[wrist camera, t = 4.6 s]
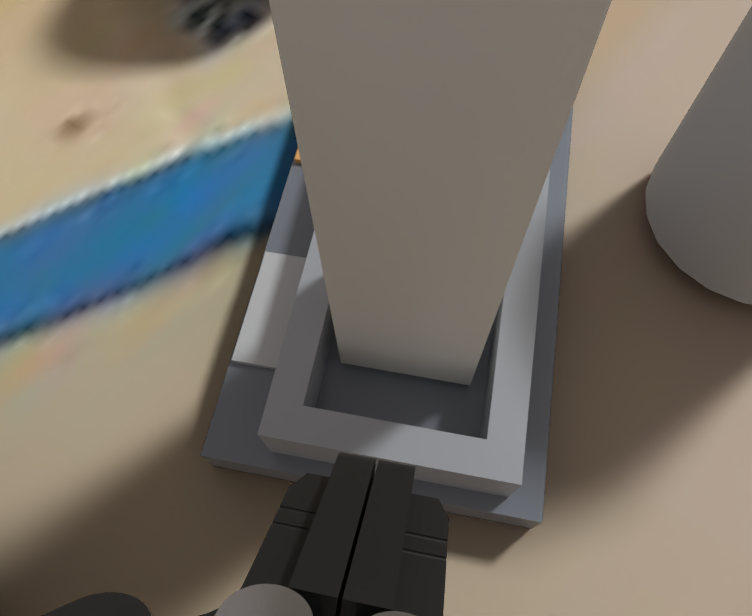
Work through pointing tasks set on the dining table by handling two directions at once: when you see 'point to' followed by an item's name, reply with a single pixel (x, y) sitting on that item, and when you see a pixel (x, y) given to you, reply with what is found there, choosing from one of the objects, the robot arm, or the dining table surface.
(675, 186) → the can
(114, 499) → the dining table surface
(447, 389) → the slide switch
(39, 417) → the dining table surface
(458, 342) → the switch lever
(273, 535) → the robot arm
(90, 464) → the dining table surface
